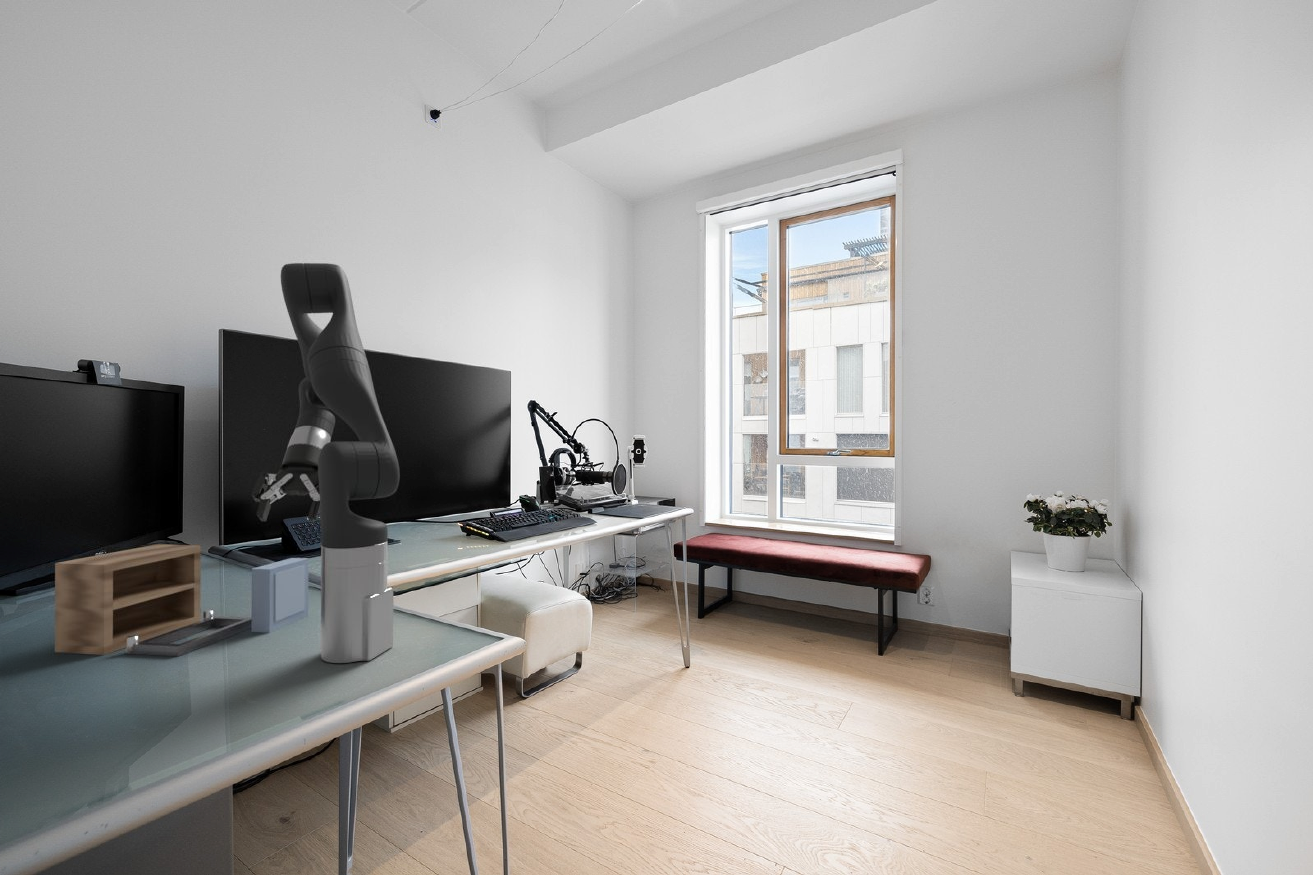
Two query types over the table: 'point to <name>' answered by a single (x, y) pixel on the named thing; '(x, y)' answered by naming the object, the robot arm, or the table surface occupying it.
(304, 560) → the recessed panel box
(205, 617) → the dark grey tray
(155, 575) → the cabinet
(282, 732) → the table surface
